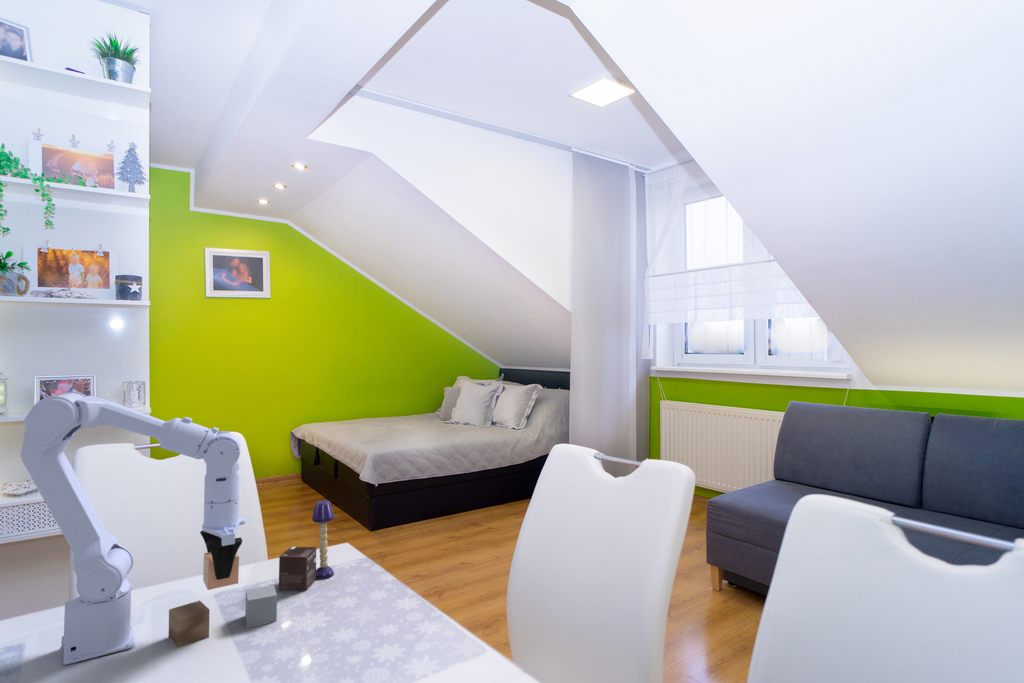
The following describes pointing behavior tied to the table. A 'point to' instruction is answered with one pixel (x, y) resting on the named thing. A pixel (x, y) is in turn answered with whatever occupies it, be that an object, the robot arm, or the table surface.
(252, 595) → the slate block
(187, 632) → the walnut block
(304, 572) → the box
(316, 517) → the toy lamp
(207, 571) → the terracotta block
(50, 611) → the table surface
